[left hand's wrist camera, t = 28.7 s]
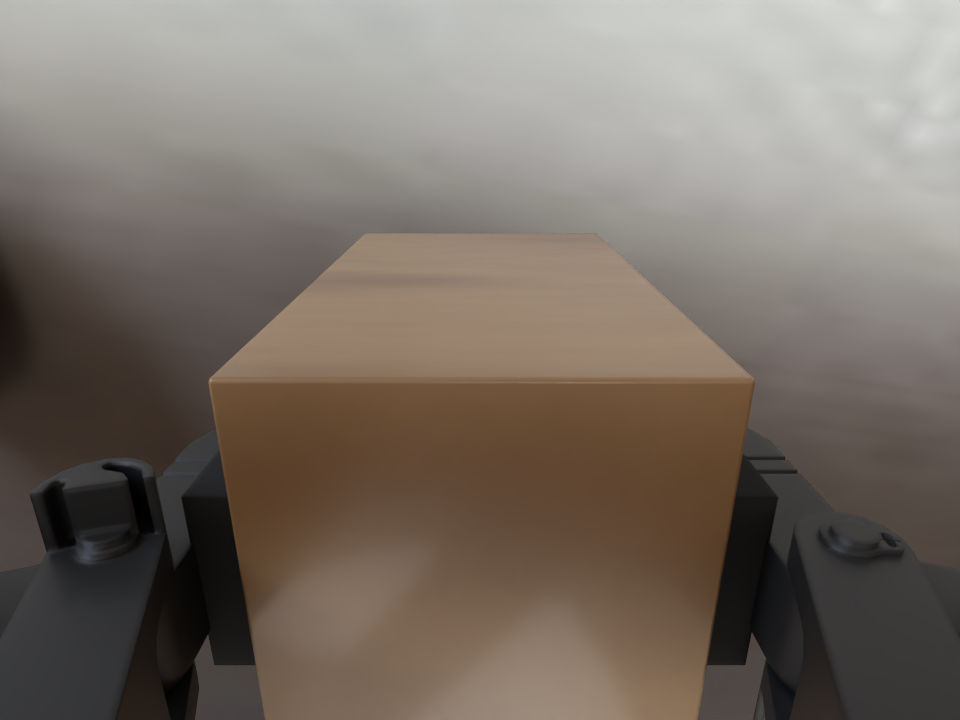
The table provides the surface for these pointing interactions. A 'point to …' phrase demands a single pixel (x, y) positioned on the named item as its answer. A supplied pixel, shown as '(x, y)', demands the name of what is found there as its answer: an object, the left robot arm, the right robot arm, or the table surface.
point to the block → (481, 485)
